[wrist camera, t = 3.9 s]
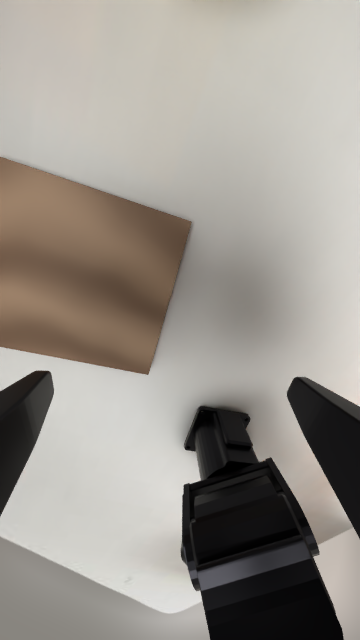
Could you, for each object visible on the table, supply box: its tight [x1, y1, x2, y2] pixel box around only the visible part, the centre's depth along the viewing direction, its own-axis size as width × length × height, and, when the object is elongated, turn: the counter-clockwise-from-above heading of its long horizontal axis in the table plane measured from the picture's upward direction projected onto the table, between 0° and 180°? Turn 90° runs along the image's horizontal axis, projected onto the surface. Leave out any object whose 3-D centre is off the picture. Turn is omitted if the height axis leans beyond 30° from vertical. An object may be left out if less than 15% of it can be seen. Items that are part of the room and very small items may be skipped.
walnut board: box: [0, 157, 192, 375], centre depth 17 cm, size 14×14×2 cm
